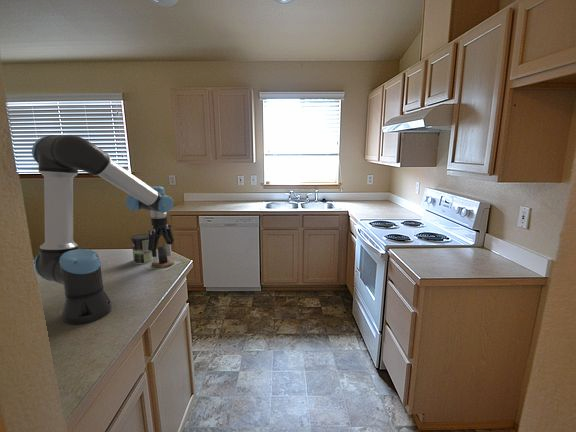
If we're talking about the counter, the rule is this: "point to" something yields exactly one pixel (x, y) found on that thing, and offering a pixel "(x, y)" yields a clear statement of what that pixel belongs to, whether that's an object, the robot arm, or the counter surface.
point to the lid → (163, 259)
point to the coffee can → (141, 249)
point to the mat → (163, 268)
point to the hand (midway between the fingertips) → (162, 258)
